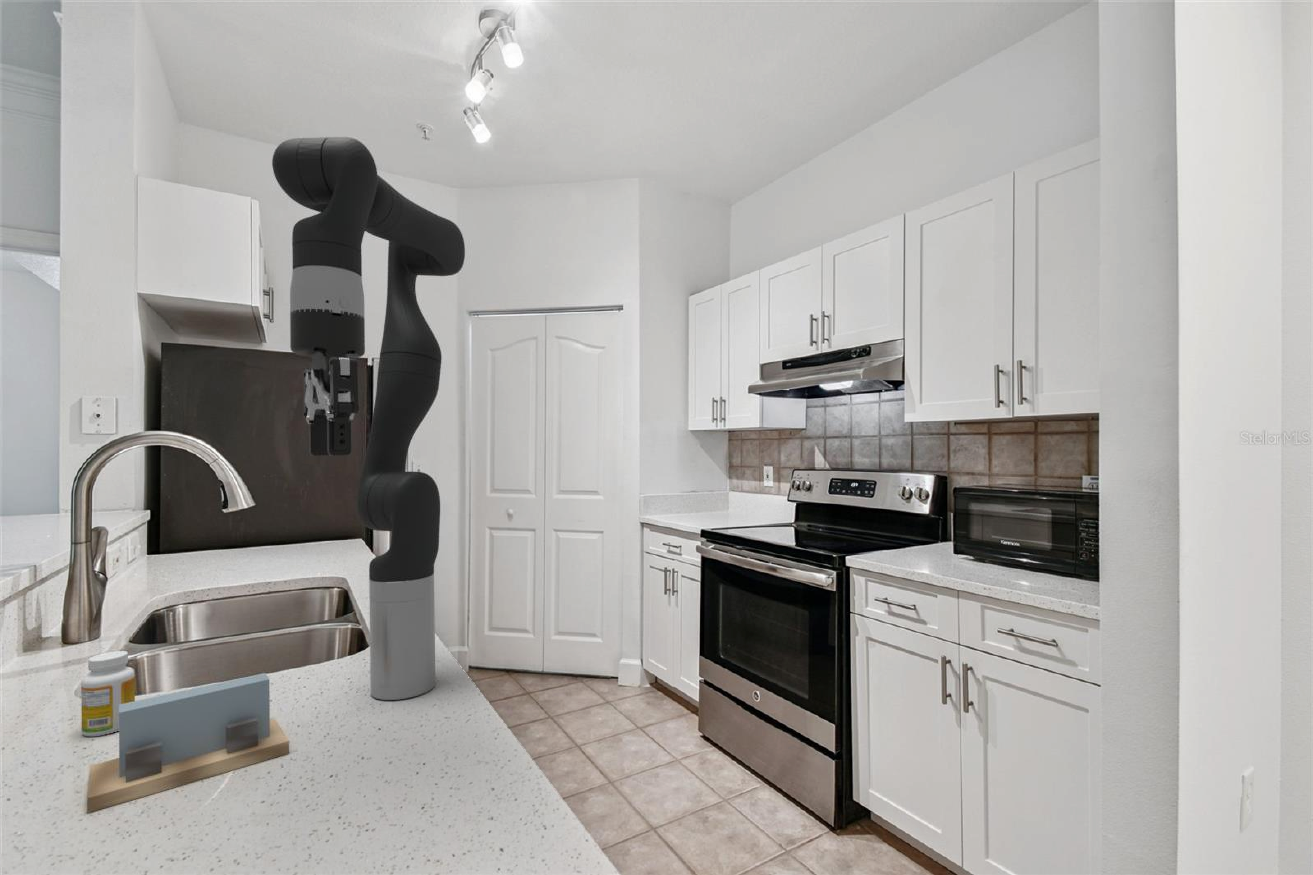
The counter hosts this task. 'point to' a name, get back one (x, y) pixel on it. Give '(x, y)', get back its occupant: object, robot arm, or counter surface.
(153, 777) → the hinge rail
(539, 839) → the counter surface
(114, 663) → the supplement bottle
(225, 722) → the blue grey rectangular block
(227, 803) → the counter surface
